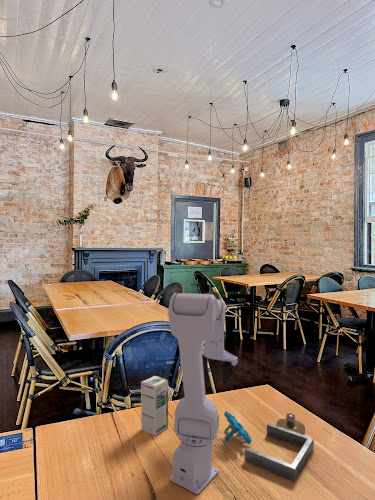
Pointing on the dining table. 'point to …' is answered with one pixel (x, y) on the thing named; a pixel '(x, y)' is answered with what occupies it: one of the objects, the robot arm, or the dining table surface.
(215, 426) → the robot arm
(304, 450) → the frame
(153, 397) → the syrup box
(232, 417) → the gear
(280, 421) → the call bell
